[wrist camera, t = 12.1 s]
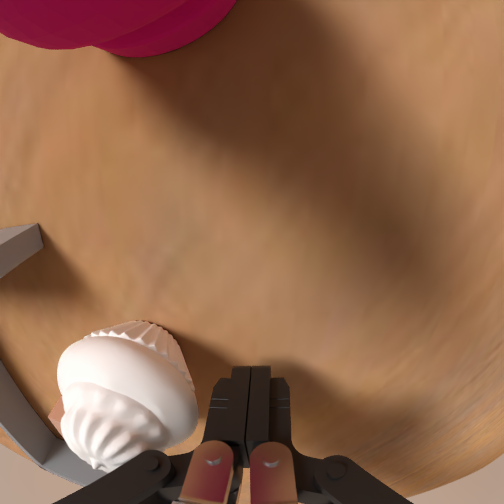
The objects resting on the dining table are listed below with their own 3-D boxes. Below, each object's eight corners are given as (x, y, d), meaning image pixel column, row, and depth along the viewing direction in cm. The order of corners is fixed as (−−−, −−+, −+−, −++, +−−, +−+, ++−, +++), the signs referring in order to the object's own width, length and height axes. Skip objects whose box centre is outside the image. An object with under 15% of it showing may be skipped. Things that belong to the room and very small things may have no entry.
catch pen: (37, 223, 11) (-22, 258, 7) (155, 470, 20) (145, 506, 16) (-56, 239, 12) (-92, 262, 8) (54, 440, 20) (40, 467, 17)
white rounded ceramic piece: (92, 274, 12) (-6, 381, 5) (223, 314, 12) (189, 469, 6) (98, 367, 14) (45, 463, 8) (201, 400, 14) (176, 514, 8)
